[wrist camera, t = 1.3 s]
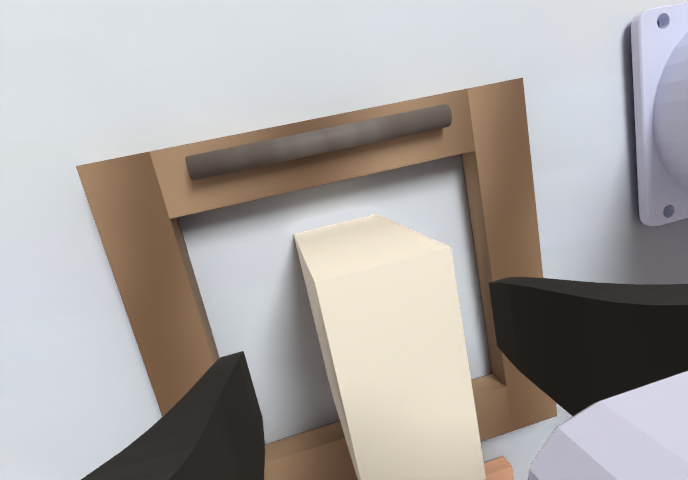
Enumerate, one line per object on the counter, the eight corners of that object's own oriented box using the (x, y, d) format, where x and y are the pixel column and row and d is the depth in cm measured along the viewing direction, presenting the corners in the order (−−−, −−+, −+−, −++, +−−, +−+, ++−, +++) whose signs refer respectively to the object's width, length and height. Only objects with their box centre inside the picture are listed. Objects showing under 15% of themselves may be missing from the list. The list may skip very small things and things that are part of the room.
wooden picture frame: (505, 83, 15) (536, 73, 13) (540, 401, 17) (569, 426, 16) (90, 166, 12) (64, 166, 11) (207, 512, 15) (200, 553, 14)
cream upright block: (375, 213, 15) (450, 247, 9) (404, 363, 16) (486, 479, 10) (293, 233, 14) (314, 281, 8) (329, 386, 15) (369, 519, 10)
